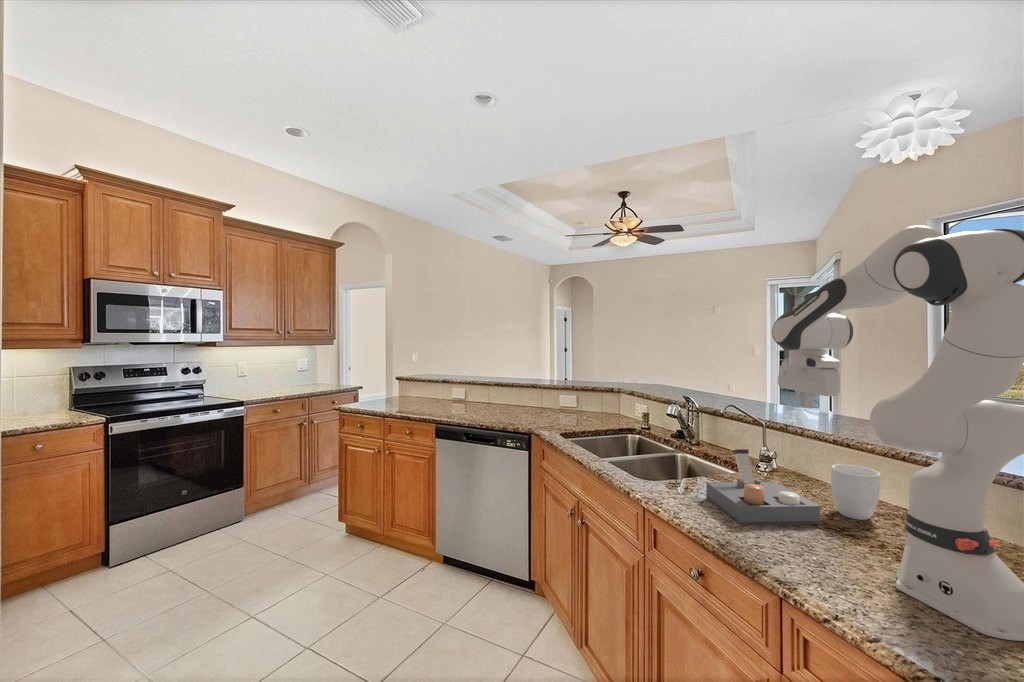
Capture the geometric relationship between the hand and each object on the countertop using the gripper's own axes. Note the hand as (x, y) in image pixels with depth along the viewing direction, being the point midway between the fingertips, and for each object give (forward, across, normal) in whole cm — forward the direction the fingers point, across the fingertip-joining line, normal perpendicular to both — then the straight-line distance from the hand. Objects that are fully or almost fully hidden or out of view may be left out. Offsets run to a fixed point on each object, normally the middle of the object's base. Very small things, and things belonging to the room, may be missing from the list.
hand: (805, 407), depth 129 cm
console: (+30, 0, -13) cm, 33 cm away
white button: (+28, +5, -8) cm, 30 cm away
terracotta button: (+26, +4, -18) cm, 32 cm away
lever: (+25, -6, -13) cm, 28 cm away
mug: (+30, +3, +13) cm, 33 cm away
